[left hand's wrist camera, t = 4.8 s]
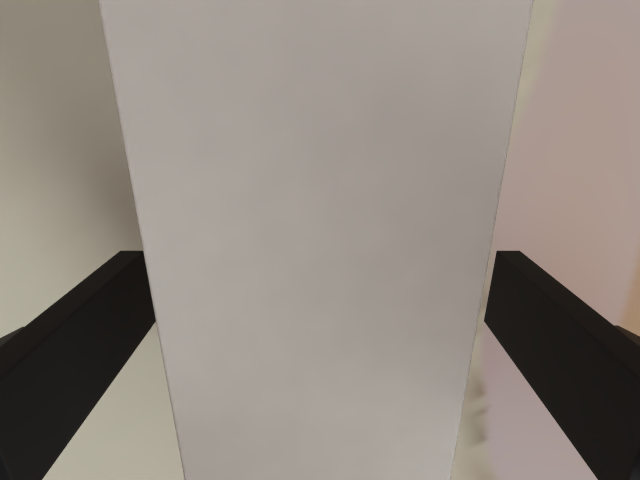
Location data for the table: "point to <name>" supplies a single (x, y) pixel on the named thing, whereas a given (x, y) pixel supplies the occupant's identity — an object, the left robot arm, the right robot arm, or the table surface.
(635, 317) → the table surface
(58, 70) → the table surface
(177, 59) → the bar
